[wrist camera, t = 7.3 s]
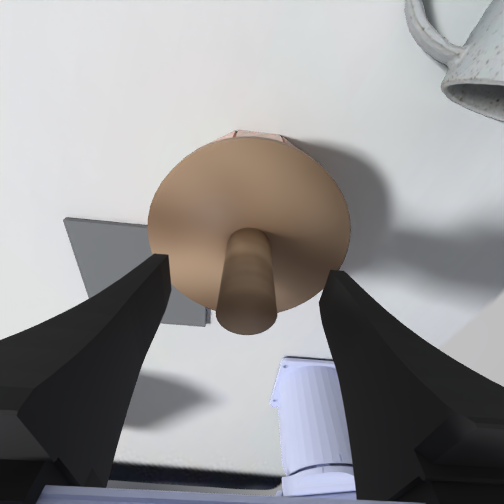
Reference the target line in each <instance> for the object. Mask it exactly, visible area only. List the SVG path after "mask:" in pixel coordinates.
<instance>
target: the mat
mask: <svg viewBox="0 0 504 504" xmlns="http://www.w3.org/2000/svg"><path fill="white" fill-rule="evenodd" d="M63 222H64V225H65V228H66V231H67V234H68V237H69V240H70V243H71V246H72V249H73V252H74V255H75V258H76V261H77V264H78V267H79V270H80V273H81V276H82V279H83V282H84V285H85V288H86V291H87V294H88V297H89V298H91V297H93V296H95V295H96V294H98V293H99V292H101V291H102V290H104V289H105V288H107V287H108V286H110V285H111V284H113V283H115V282H116V281H118V280H119V279H120V278H122V277H123V276H125V275H126V274H127V273H129V272H130V271H131V270H133V269H134V268H136V267H137V266H138V265H140V264H141V263H142V262H143V261H145V260H146V259H147V258H149V257H150V256H151V255H153V254H152V251H151V248H150V244H149V238H148V225H138V224H128V223H118V222H107V221H97V220H87V219H77V218H65V219H64V220H63ZM171 289H172V291H171V294H170V298H169V301H168V304H167V308H166V311H165V313H164V315H163V318H162V320H161V322H160V323H163V324H175V325H188V326H201V327H205V325H206V307H204V306H202V305H200V304H198V303H196V302H194V301H192V300H191V299H189V298H188V297H186V296H185V295H183V294H182V293H181V292H180V291H179V290H177V289H176V288H175V287H174V286H173V285H172V284H171Z"/></svg>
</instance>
